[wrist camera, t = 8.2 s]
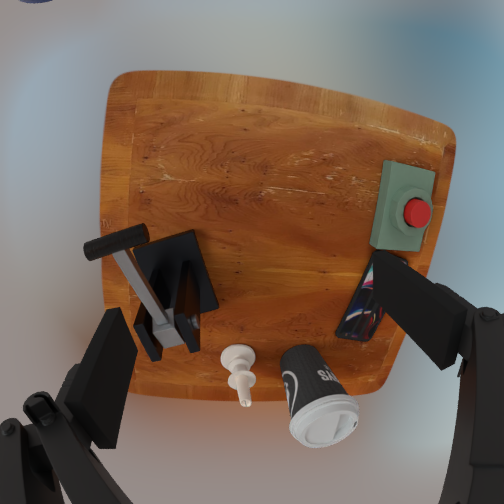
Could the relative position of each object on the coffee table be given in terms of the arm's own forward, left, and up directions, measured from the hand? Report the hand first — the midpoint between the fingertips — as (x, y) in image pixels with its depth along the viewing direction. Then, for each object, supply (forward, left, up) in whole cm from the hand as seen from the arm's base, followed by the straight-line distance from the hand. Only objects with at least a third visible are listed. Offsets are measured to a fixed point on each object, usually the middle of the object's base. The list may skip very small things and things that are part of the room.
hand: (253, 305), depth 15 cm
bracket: (+10, -5, -24) cm, 26 cm away
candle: (+23, +4, -24) cm, 33 cm away
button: (-2, +25, -20) cm, 32 cm away
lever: (+5, -7, -11) cm, 14 cm away
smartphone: (+12, +23, -24) cm, 36 cm away
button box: (-2, +25, -24) cm, 34 cm away
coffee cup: (+24, +14, -24) cm, 36 cm away
